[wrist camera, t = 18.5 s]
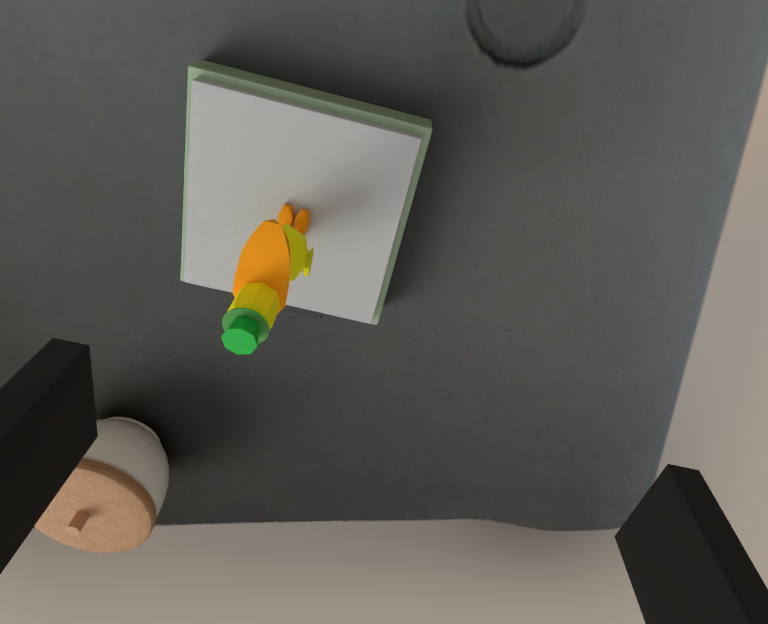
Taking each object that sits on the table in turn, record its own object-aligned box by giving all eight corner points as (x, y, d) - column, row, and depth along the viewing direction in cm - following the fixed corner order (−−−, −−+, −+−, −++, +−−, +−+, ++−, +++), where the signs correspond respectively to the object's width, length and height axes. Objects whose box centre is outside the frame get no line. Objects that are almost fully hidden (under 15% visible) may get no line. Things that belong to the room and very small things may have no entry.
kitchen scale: (431, 119, 32) (433, 132, 30) (377, 315, 40) (374, 339, 37) (202, 59, 31) (182, 67, 28) (191, 273, 39) (175, 295, 36)
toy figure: (275, 158, 31) (208, 246, 21) (335, 175, 31) (297, 269, 21) (259, 258, 34) (195, 375, 24) (313, 272, 35) (271, 393, 25)
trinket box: (66, 383, 45) (-8, 469, 37) (191, 413, 46) (146, 503, 39) (70, 466, 51) (6, 556, 43) (182, 490, 52) (140, 582, 44)
